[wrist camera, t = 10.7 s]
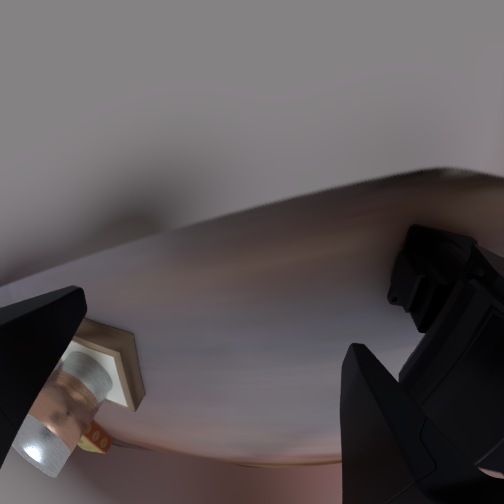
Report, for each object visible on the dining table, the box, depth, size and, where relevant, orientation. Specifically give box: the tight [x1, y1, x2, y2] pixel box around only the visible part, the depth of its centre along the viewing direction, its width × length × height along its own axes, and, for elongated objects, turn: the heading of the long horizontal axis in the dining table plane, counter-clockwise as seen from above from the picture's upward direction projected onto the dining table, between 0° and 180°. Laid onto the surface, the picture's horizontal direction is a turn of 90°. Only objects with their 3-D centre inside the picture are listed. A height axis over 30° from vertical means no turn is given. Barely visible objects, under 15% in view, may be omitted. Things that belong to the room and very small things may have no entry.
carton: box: [77, 419, 114, 453], centre depth 37 cm, size 8×16×4 cm, turn 29°
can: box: [11, 351, 113, 478], centre depth 21 cm, size 6×6×13 cm
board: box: [59, 318, 145, 412], centre depth 28 cm, size 10×10×3 cm
